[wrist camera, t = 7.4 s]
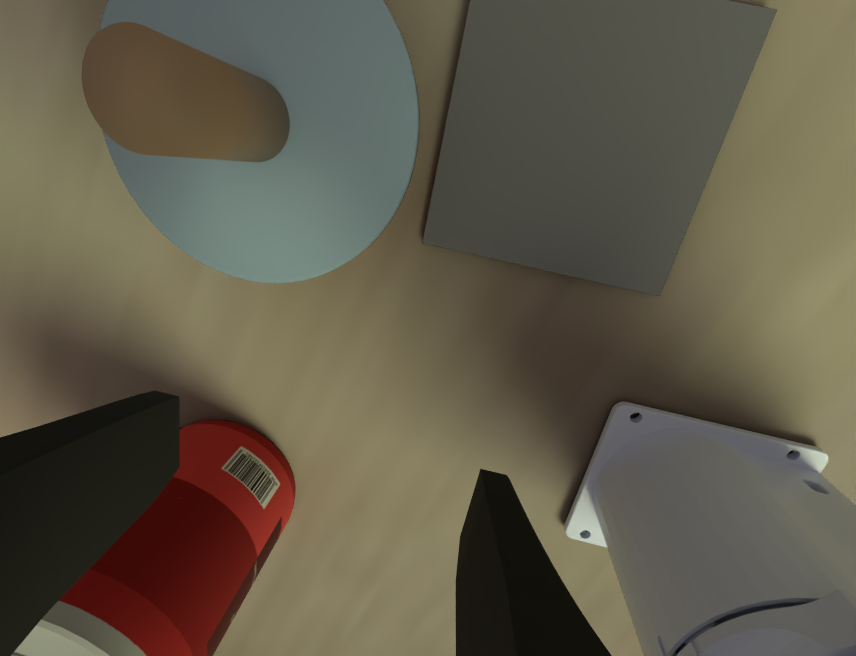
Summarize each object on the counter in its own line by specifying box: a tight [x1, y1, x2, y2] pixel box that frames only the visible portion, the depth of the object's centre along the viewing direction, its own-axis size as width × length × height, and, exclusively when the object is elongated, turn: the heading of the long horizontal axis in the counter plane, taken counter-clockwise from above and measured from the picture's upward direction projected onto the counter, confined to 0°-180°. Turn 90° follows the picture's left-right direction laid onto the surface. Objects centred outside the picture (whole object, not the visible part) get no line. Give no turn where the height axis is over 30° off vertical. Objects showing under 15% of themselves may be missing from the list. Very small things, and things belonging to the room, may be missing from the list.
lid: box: [82, 0, 419, 283], centre depth 12 cm, size 11×11×6 cm
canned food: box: [11, 420, 295, 656], centre depth 19 cm, size 8×8×11 cm
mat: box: [422, 0, 777, 296], centre depth 16 cm, size 10×10×1 cm
